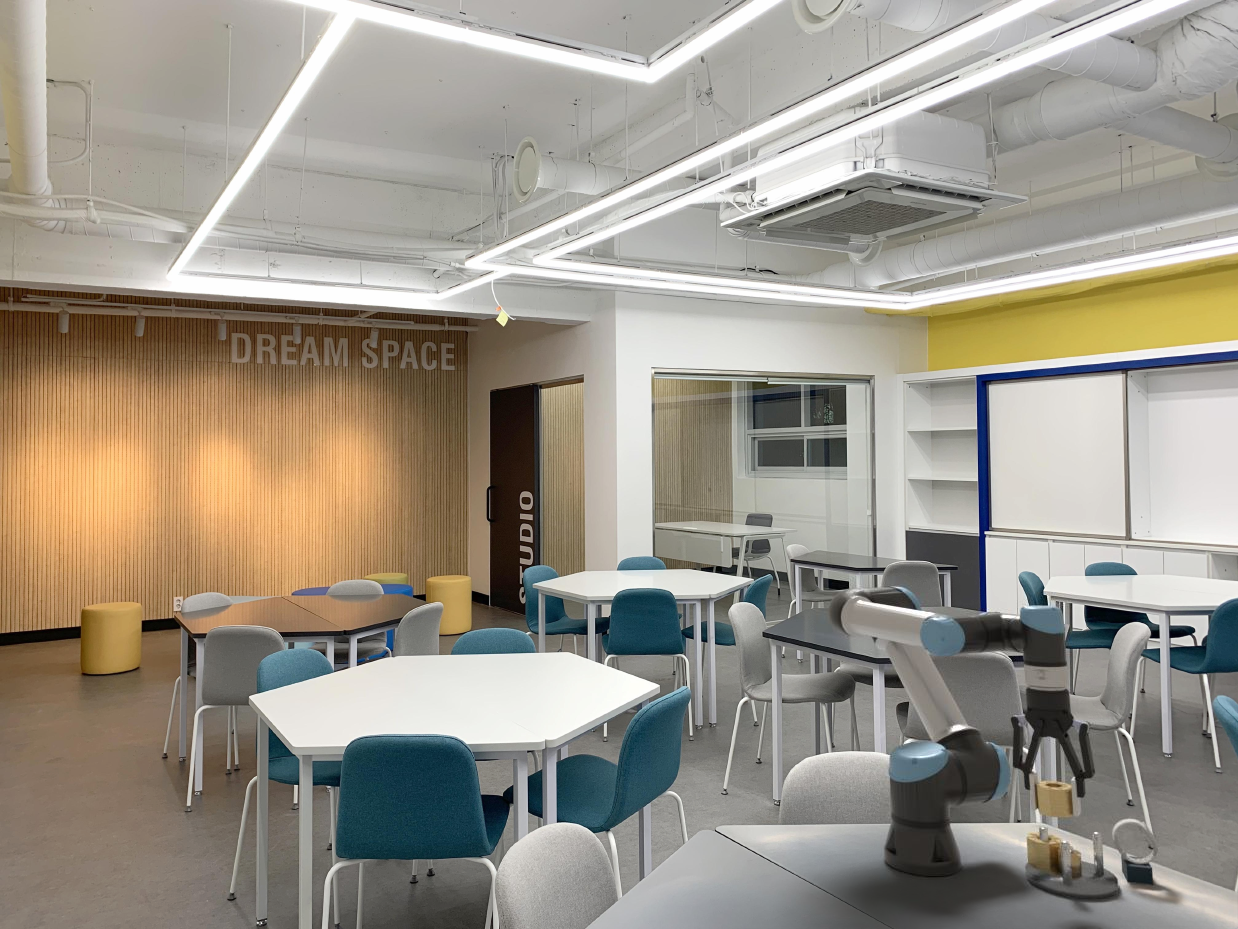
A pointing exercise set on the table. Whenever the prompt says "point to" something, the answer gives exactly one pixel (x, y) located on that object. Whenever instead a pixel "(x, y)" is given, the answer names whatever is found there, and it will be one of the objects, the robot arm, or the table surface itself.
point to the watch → (1137, 866)
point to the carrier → (1075, 873)
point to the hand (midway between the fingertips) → (1056, 811)
